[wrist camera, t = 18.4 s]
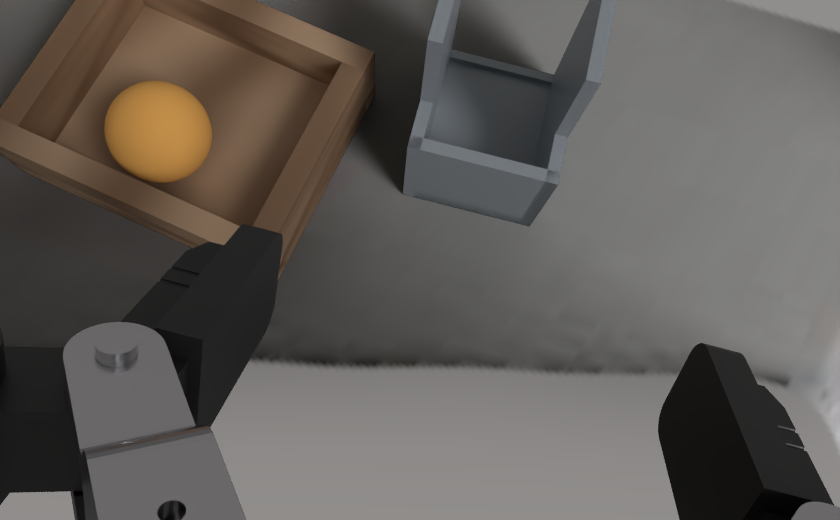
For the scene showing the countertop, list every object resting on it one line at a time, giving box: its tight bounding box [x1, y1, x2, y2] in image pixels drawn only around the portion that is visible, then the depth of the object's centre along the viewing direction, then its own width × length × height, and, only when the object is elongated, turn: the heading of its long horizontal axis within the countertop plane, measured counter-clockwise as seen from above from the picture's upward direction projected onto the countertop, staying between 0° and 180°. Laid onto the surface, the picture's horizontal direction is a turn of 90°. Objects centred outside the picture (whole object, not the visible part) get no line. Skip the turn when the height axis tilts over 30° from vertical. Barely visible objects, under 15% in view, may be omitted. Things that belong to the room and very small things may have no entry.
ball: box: [104, 81, 212, 183], centre depth 27 cm, size 4×4×4 cm
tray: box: [0, 0, 375, 279], centre depth 29 cm, size 12×10×4 cm
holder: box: [403, 0, 617, 226], centre depth 27 cm, size 7×6×9 cm
